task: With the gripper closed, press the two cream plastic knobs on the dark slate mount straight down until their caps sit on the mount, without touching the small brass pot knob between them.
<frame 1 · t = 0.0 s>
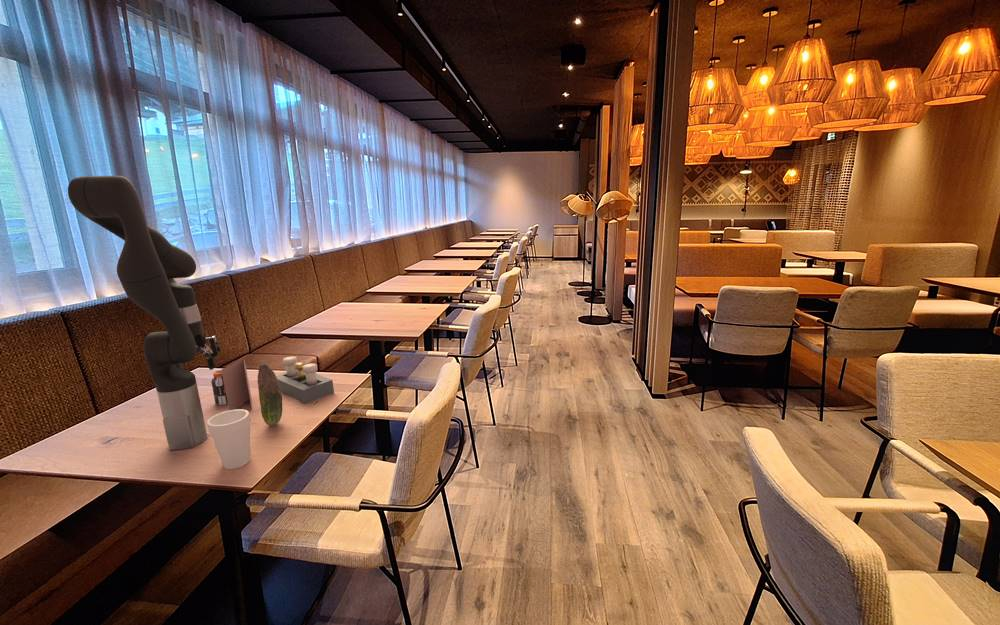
hand: (197, 370, 138), 17 cm above the table, fingers open, 8 cm apart
vegetable: (274, 424, 139), on the table
mount: (303, 391, 163), on the table
greeting card: (248, 405, 153), on the table
pill bottle: (225, 402, 156), on the table
brass pot knob: (300, 371, 162), point 8 cm above the table, slide at 0.0 cm
near cream knob: (311, 375, 157), point 8 cm above the table, slide at 0.0 cm
foam cup: (237, 462, 118), on the table
far cream knob: (291, 367, 166), point 8 cm above the table, slide at 0.0 cm
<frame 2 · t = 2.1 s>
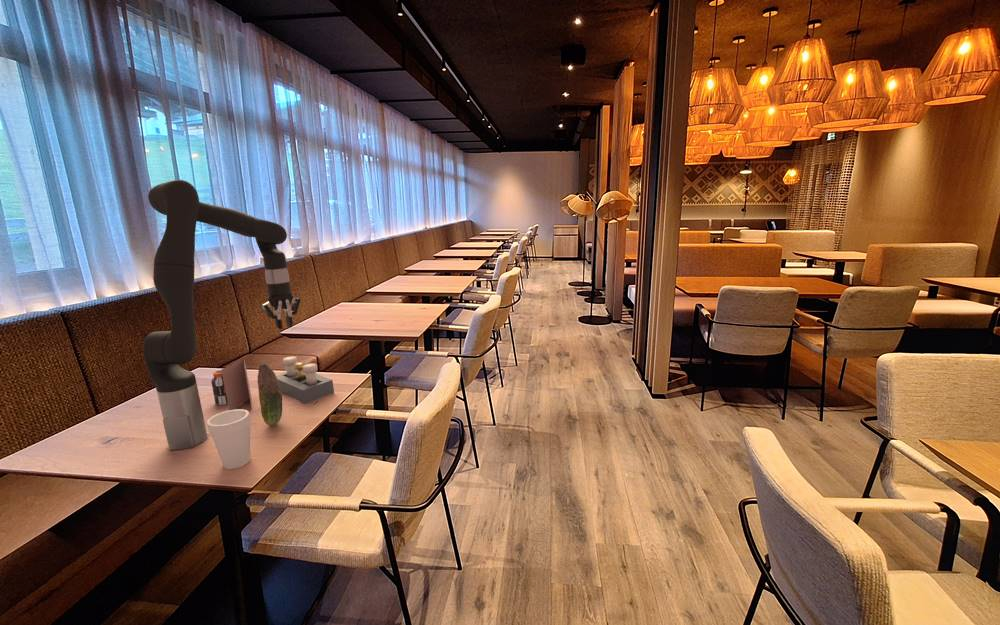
hand: (285, 327, 162), 23 cm above the table, fingers open, 3 cm apart
nothing on the table moved.
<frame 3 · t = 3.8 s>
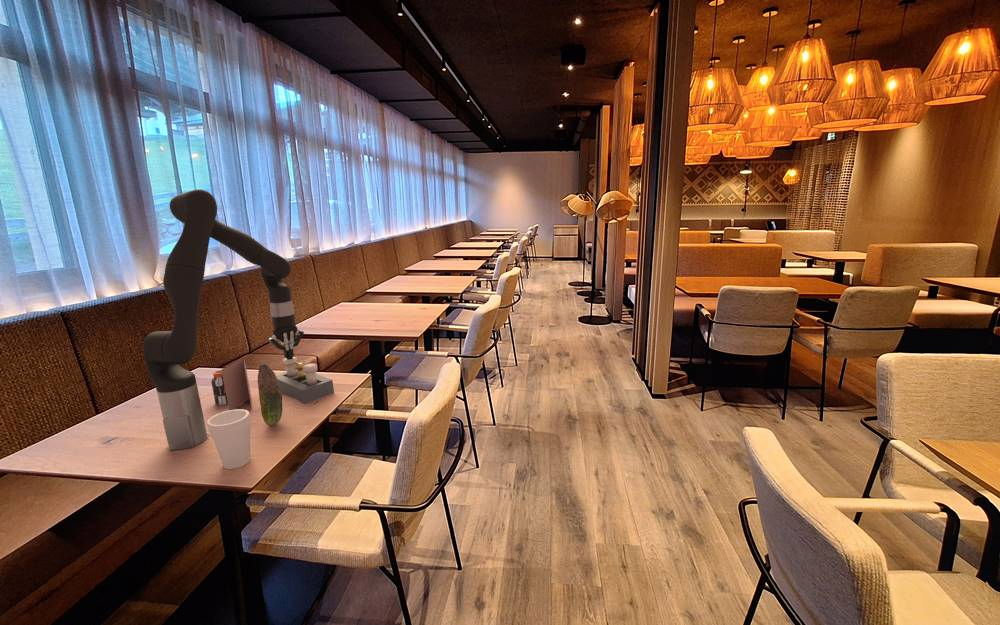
hand: (289, 358, 165), 11 cm above the table, fingers closed
far cream knob: (291, 367, 166), point 8 cm above the table, slide at 0.2 cm, touching gripper
everything else where it was.
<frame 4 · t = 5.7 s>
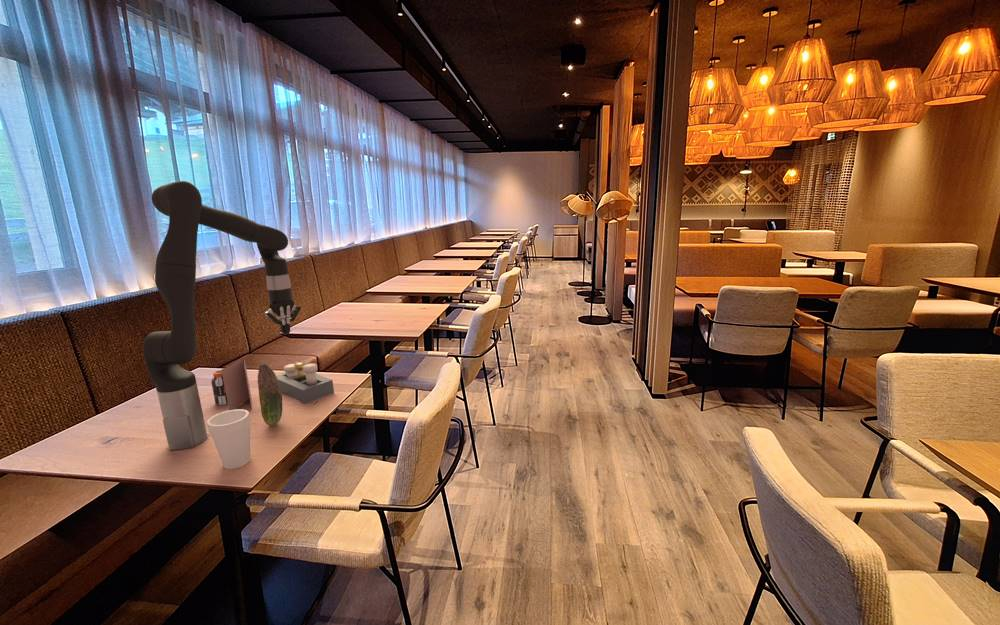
hand: (286, 333, 163), 21 cm above the table, fingers closed
far cream knob: (292, 374, 166), point 5 cm above the table, slide at 2.9 cm
everything else where it was.
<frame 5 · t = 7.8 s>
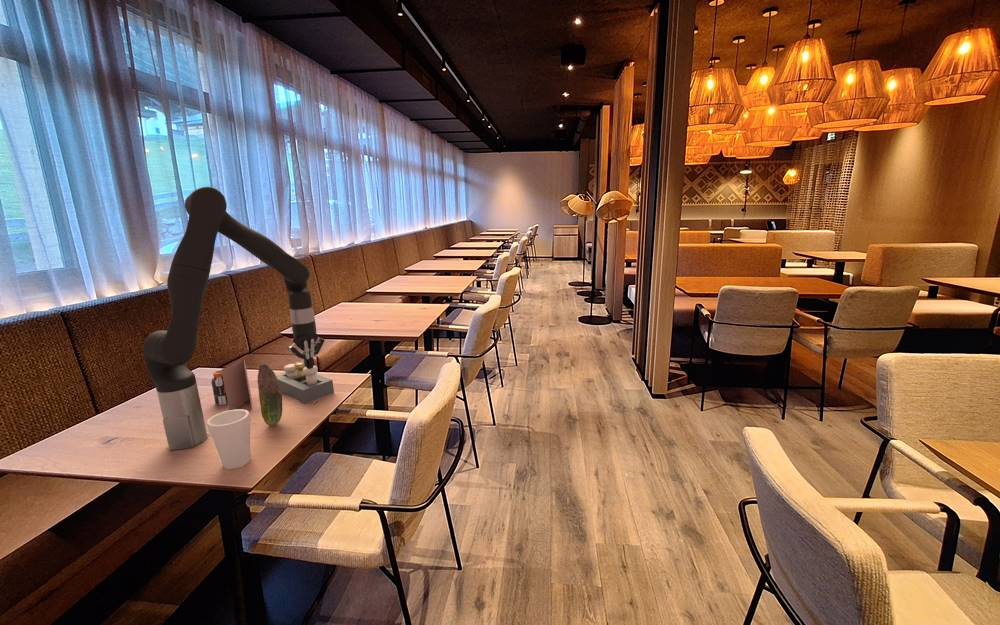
hand: (310, 367, 157), 10 cm above the table, fingers closed
near cream knob: (311, 377, 157), point 7 cm above the table, slide at 0.8 cm, touching gripper
everything else where it was.
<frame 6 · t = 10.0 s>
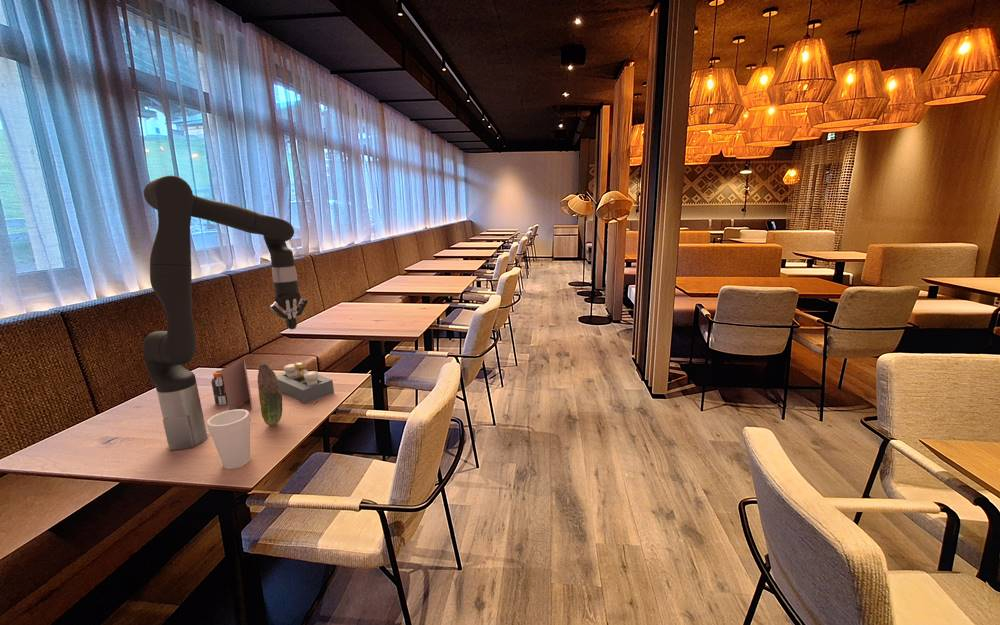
hand: (292, 328, 156), 24 cm above the table, fingers closed
near cream knob: (312, 382, 158), point 5 cm above the table, slide at 2.9 cm
everything else where it was.
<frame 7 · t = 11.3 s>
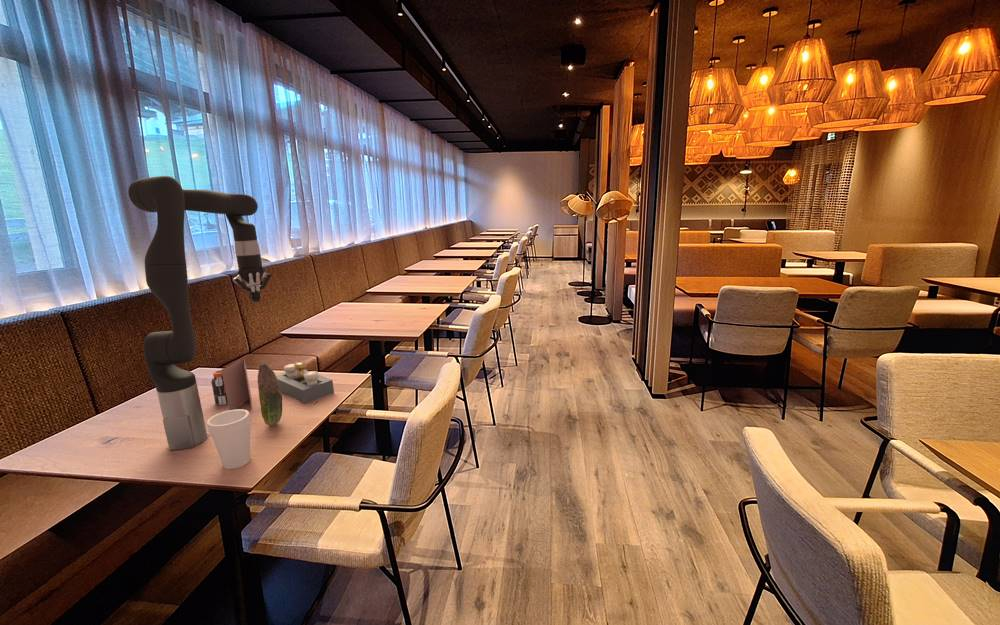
hand: (256, 301, 161), 33 cm above the table, fingers closed
nothing on the table moved.
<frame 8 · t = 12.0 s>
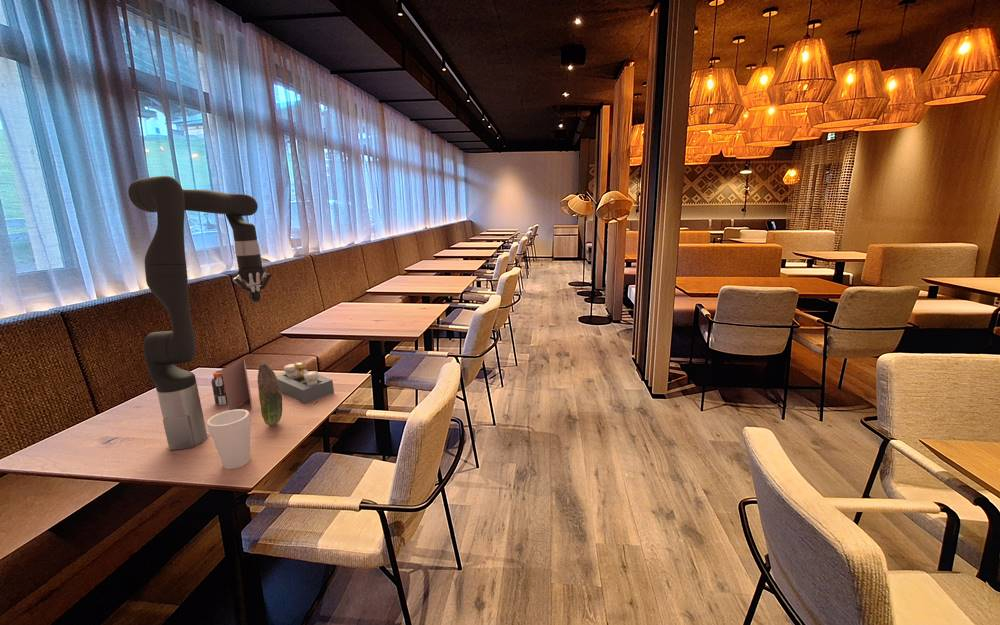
hand: (256, 301, 161), 33 cm above the table, fingers closed
nothing on the table moved.
at the end: far cream knob slide at 2.9 cm; near cream knob slide at 2.9 cm; brass pot knob slide at 0.0 cm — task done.
